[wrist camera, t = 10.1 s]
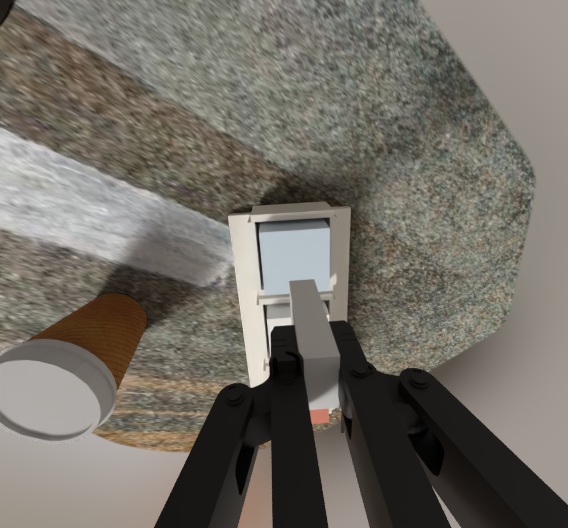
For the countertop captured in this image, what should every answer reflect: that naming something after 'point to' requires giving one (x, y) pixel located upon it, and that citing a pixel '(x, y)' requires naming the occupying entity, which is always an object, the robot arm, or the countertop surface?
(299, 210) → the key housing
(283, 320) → the white key
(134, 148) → the countertop surface
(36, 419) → the disposable coffee cup
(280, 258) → the pale blue key
